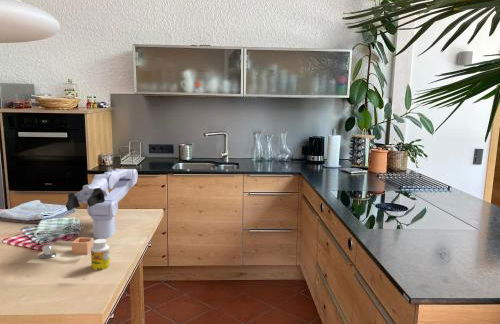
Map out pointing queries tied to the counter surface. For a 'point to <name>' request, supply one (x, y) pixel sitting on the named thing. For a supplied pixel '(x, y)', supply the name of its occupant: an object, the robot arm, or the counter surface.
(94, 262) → the supplement bottle
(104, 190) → the robot arm
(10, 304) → the counter surface
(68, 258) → the beige base plate
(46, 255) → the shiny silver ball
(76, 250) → the orange hollow cube
